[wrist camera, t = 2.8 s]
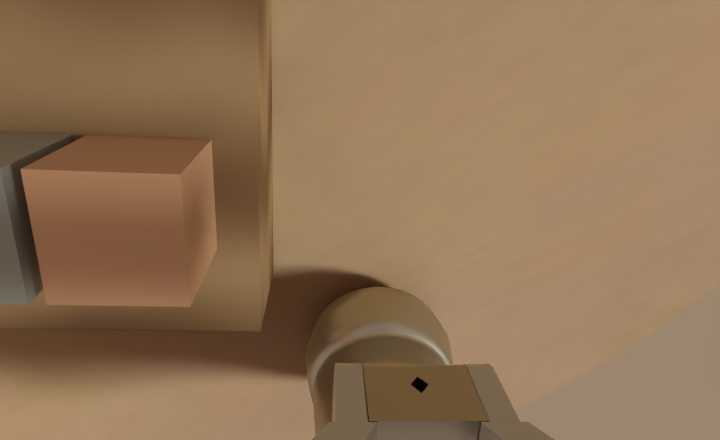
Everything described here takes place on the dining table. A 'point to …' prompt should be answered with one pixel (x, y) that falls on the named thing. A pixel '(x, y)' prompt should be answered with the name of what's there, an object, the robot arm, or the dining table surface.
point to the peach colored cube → (123, 220)
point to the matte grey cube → (20, 214)
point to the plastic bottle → (371, 339)
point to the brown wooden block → (155, 128)
